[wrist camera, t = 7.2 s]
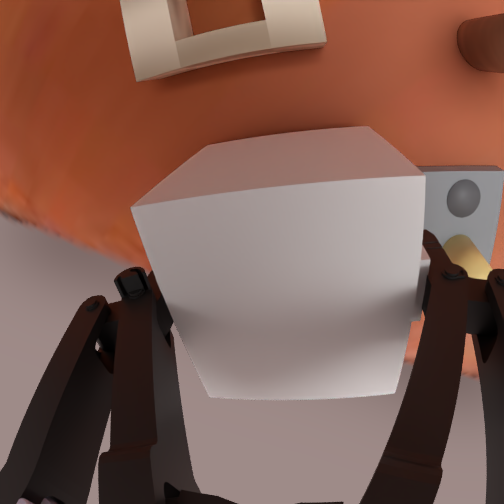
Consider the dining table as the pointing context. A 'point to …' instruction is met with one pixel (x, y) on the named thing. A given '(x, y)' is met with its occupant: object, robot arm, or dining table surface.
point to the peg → (483, 42)
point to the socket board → (213, 35)
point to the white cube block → (290, 262)
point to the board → (464, 213)
